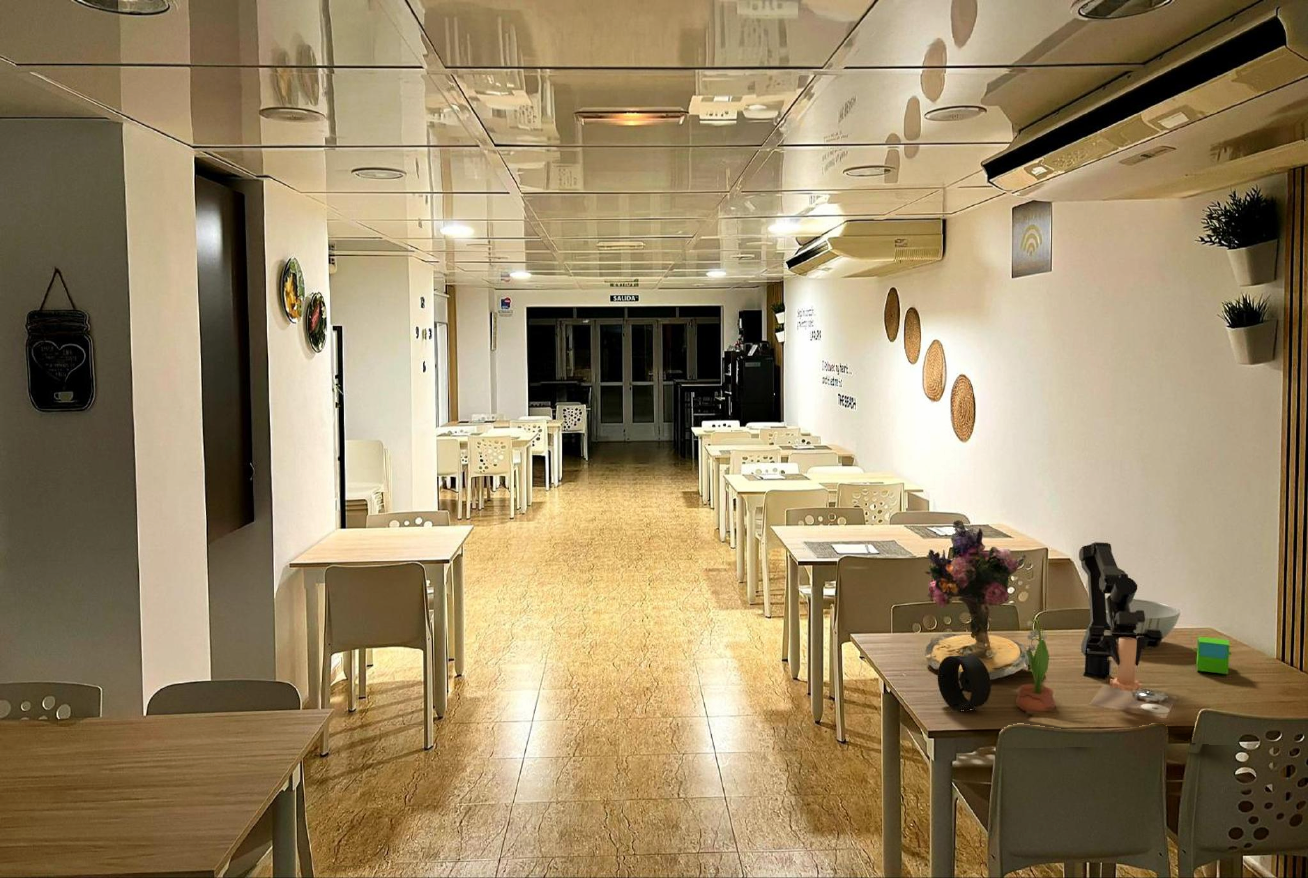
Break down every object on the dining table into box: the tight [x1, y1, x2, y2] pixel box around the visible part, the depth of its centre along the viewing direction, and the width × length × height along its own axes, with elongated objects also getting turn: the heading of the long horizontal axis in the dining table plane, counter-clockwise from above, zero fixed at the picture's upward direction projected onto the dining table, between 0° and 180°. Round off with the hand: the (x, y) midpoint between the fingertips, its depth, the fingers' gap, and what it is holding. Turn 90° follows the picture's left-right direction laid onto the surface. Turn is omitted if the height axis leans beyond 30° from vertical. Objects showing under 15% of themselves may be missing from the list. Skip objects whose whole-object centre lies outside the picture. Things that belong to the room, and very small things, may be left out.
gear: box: [1132, 688, 1168, 704], centre depth 297 cm, size 9×9×2 cm
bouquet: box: [924, 519, 1031, 681], centre depth 326 cm, size 33×44×45 cm
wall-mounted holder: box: [937, 655, 992, 712], centre depth 292 cm, size 14×14×10 cm
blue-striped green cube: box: [1193, 636, 1232, 676], centre depth 329 cm, size 10×13×10 cm
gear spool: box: [1109, 637, 1142, 691], centre depth 290 cm, size 8×8×13 cm
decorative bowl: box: [1105, 597, 1181, 645], centre depth 357 cm, size 27×27×12 cm
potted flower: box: [1015, 617, 1056, 712], centre depth 291 cm, size 12×10×25 cm
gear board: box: [1088, 684, 1178, 719], centre depth 295 cm, size 19×21×2 cm
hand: (1127, 664), depth 289 cm, fingers closed on gear spool, 4 cm apart
